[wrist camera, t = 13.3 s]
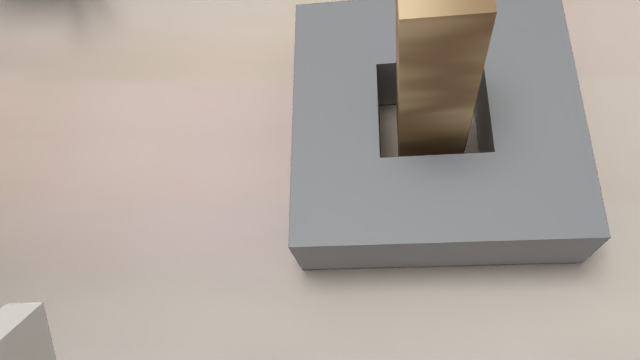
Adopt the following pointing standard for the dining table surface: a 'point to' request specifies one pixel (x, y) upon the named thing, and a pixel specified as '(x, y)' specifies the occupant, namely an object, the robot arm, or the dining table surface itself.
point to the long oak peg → (439, 71)
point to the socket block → (440, 170)
